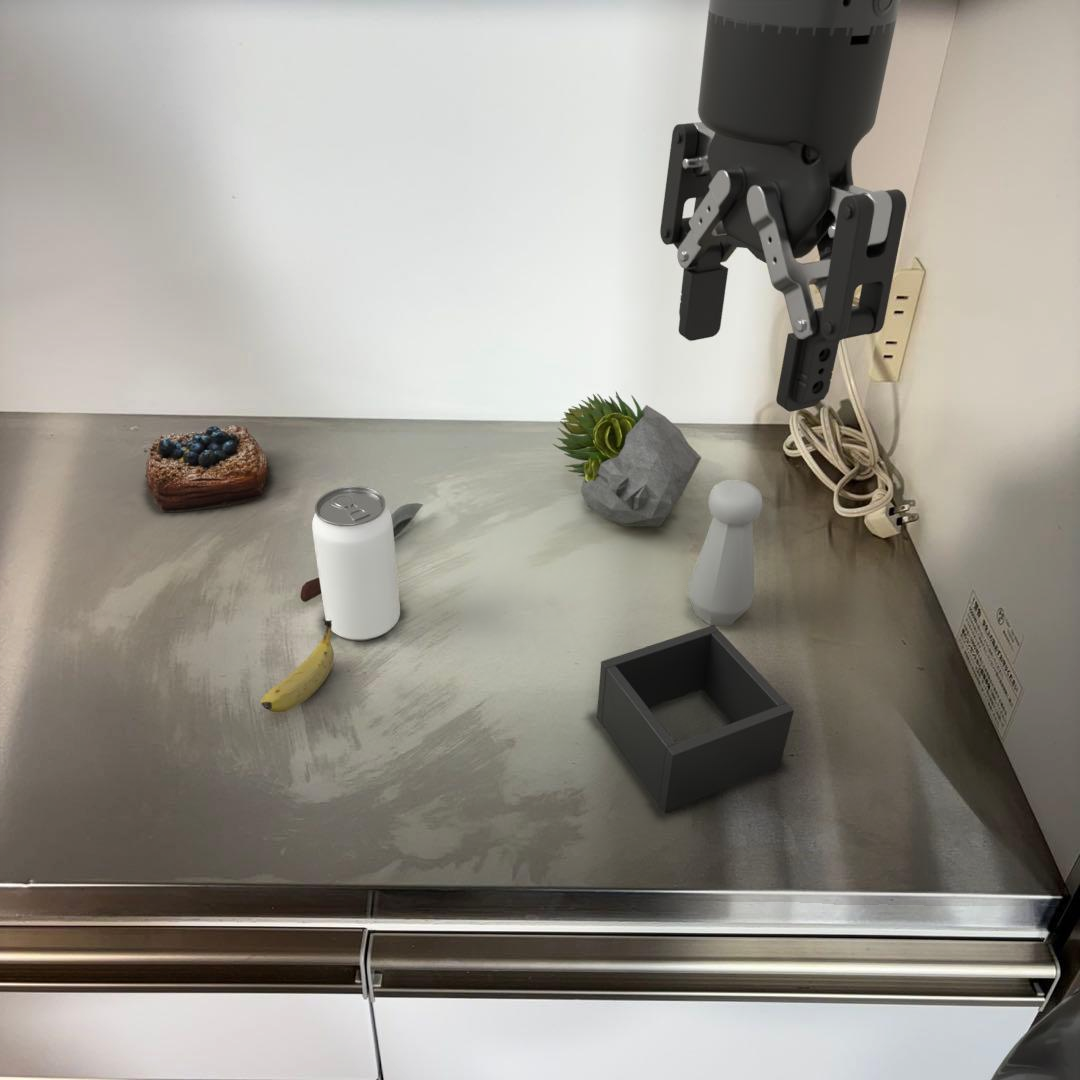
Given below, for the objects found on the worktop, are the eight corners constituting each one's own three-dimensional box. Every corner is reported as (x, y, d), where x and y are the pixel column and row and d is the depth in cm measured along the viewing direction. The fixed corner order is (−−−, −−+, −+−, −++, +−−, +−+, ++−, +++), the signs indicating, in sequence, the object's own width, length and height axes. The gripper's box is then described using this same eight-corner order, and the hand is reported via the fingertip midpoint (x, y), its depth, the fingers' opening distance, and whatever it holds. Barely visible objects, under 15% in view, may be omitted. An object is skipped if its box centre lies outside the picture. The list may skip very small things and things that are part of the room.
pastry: (149, 464, 105) (137, 416, 101) (262, 447, 108) (254, 400, 105) (151, 519, 96) (138, 469, 93) (274, 499, 100) (266, 450, 96)
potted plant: (645, 542, 89) (512, 461, 92) (659, 552, 101) (541, 480, 105) (715, 430, 88) (578, 352, 92) (720, 453, 101) (599, 384, 104)
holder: (780, 766, 72) (794, 709, 69) (664, 813, 68) (672, 755, 65) (705, 680, 79) (714, 624, 76) (596, 717, 76) (600, 661, 72)
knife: (417, 510, 99) (416, 485, 97) (430, 515, 98) (428, 490, 96) (298, 611, 85) (293, 585, 84) (311, 617, 85) (307, 590, 83)
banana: (286, 743, 73) (279, 705, 71) (258, 735, 74) (250, 698, 71) (347, 656, 81) (342, 620, 78) (321, 650, 81) (316, 614, 79)
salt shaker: (755, 633, 84) (780, 509, 77) (689, 633, 84) (707, 508, 76) (743, 591, 89) (765, 470, 81) (681, 590, 89) (697, 469, 81)
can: (375, 586, 88) (363, 474, 81) (415, 622, 84) (406, 508, 77) (312, 614, 85) (294, 500, 78) (350, 654, 81) (335, 537, 74)
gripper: (634, -13, 43) (611, 328, 53) (845, 37, 33) (770, 450, 42) (771, -19, 46) (726, 307, 55) (1006, 26, 36) (901, 417, 45)
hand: (745, 369), depth 49 cm, fingers open, 8 cm apart
